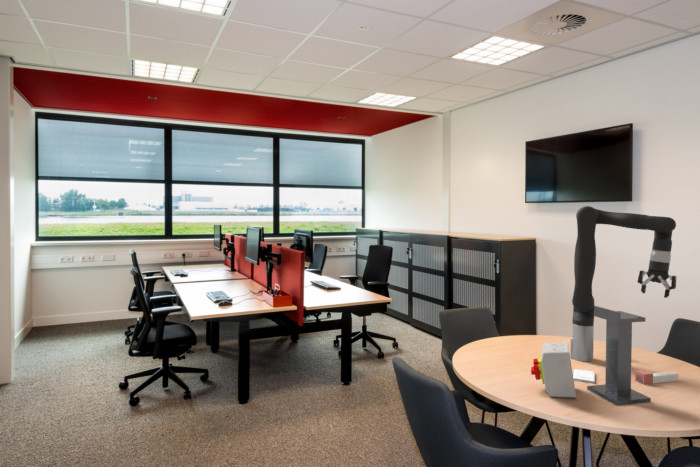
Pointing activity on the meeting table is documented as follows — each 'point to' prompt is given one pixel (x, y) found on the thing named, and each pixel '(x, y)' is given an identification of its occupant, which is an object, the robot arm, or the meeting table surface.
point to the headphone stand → (618, 358)
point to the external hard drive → (584, 376)
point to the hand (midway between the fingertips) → (654, 295)
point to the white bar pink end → (654, 377)
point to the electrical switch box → (555, 370)
